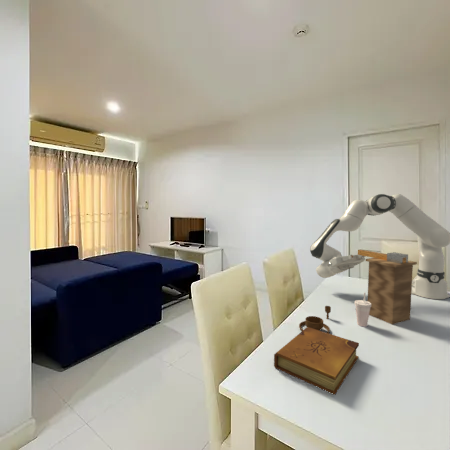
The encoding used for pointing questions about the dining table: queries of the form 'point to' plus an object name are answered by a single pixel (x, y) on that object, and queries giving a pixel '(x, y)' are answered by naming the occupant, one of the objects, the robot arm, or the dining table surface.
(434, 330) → the dining table surface
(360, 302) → the smoothie
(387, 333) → the dining table surface
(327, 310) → the place setting
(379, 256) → the mallet
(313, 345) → the diary
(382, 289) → the stand
